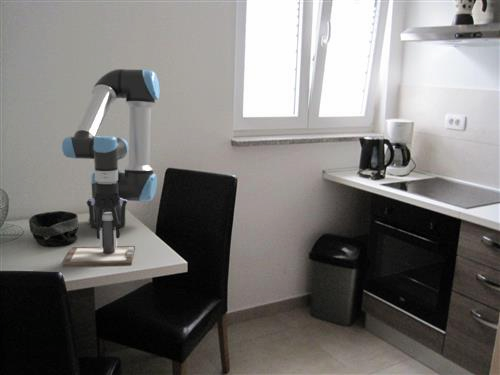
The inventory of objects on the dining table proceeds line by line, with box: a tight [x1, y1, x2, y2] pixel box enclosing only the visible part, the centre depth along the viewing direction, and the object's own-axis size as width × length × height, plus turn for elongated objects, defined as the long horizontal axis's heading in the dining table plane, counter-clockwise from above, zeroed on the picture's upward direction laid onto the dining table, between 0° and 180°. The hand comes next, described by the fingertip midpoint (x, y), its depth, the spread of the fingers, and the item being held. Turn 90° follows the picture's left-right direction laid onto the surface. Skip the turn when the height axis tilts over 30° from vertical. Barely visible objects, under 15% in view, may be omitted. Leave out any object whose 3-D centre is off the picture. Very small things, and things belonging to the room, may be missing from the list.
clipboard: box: [62, 245, 136, 268], centre depth 165 cm, size 16×22×2 cm
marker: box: [102, 212, 115, 254], centre depth 166 cm, size 4×4×14 cm
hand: (108, 246), depth 167 cm, fingers closed on marker, 4 cm apart
